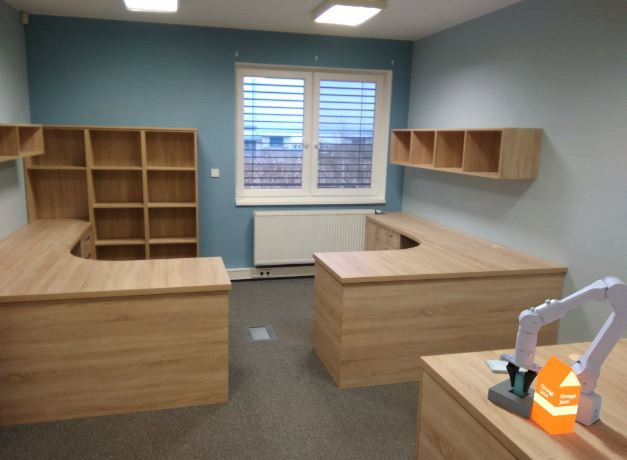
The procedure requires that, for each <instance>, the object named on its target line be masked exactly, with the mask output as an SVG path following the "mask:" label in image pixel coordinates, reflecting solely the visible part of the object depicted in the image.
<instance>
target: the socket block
mask: <svg viewBox="0 0 627 460" xmlns="http://www.w3.org/2000/svg"><path fill="white" fill-rule="evenodd" d="M513 389H514V387H513V388H512V387H511V382H510V378H507V379H504V380H503V381H501V382H499V383H496V384H494V385H493V386H491V387H488V391H487V400H489V401H492V402H494V403H496V404H498V405H499V406H502V407H504V408H506V409H508V410H510V411H512V412H514V413H516V414H518V415H520V416H522V417H524V418H527V419H528V420H530V419H532V418H531V416H532V409H533V402H534V394H535V389H534V388H531V387H530V388H529V390H528V392H526V393H525V397H524V398H521V397H519V396H516V395H514V394H513Z"/></svg>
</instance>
